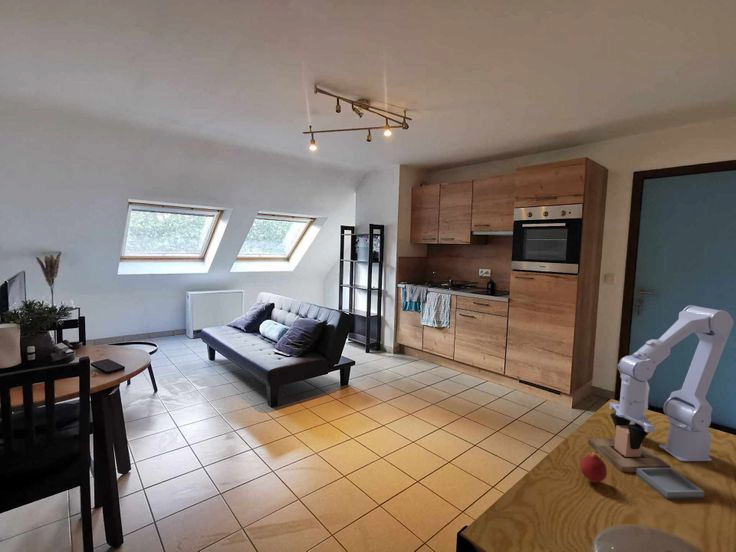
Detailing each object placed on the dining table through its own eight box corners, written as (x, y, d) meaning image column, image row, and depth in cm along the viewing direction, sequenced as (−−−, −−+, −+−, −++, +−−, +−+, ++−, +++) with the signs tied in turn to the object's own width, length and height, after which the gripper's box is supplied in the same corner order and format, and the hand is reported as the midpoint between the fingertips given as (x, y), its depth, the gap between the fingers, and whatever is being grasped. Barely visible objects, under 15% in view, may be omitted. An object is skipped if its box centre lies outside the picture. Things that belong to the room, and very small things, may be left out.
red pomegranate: (598, 476, 99) (600, 447, 98) (610, 490, 93) (612, 460, 93) (575, 474, 100) (577, 445, 99) (585, 488, 94) (588, 458, 93)
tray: (669, 473, 101) (670, 467, 101) (703, 498, 91) (704, 491, 91) (636, 474, 100) (636, 468, 100) (666, 499, 91) (667, 492, 90)
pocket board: (631, 443, 116) (631, 438, 116) (670, 471, 102) (670, 465, 102) (588, 443, 115) (588, 439, 115) (621, 471, 101) (621, 466, 101)
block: (628, 447, 111) (630, 425, 110) (640, 456, 106) (642, 433, 106) (614, 448, 110) (616, 425, 110) (625, 456, 106) (627, 433, 105)
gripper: (601, 388, 114) (597, 430, 115) (638, 410, 99) (634, 458, 101) (623, 388, 114) (619, 430, 116) (663, 410, 100) (658, 458, 101)
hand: (628, 443), depth 108 cm, fingers closed on block, 4 cm apart
